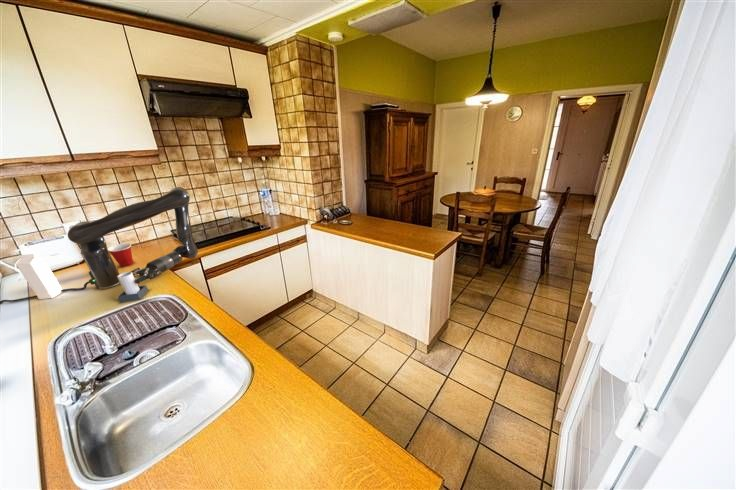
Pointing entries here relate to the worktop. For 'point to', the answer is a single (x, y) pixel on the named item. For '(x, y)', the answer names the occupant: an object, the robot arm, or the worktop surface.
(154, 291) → the worktop surface
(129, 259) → the plastic cup
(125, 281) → the tumbler
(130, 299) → the dark square dish
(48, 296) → the milk
